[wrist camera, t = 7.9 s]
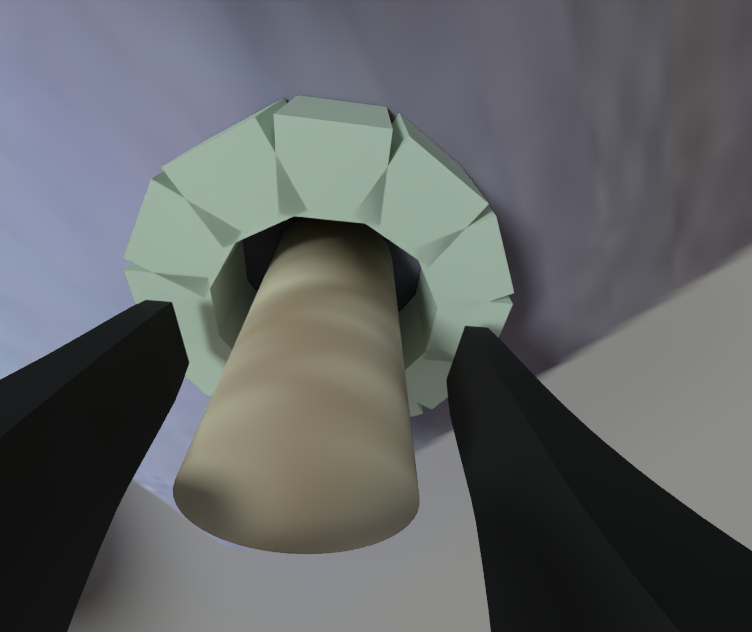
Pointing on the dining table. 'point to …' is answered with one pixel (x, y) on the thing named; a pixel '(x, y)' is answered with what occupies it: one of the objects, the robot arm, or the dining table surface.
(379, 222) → the pale green segmented ring
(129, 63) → the dining table surface
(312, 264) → the beige cylinder
